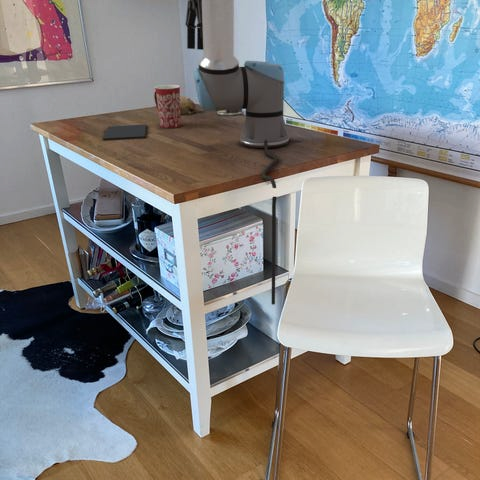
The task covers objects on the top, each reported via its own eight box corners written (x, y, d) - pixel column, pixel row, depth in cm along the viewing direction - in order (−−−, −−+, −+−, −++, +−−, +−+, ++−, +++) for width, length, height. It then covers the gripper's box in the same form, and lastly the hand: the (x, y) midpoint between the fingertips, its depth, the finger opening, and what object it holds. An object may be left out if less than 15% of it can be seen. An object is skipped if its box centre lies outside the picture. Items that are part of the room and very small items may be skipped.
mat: (145, 138, 175) (145, 136, 174) (103, 140, 173) (102, 138, 173) (146, 126, 192) (146, 124, 191) (108, 128, 190) (108, 126, 190)
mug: (188, 126, 190) (185, 86, 183) (167, 129, 185) (163, 89, 178) (169, 121, 198) (166, 83, 191) (149, 125, 193) (144, 85, 186)
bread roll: (181, 124, 210) (187, 106, 205) (163, 111, 212) (168, 92, 207) (196, 120, 217) (202, 102, 212) (178, 107, 219) (183, 89, 214)
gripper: (218, -26, 162) (216, 50, 172) (197, -19, 183) (197, 49, 193) (195, -28, 160) (194, 49, 170) (176, -21, 180) (177, 47, 190)
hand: (196, 49), depth 181 cm, fingers open, 13 cm apart
